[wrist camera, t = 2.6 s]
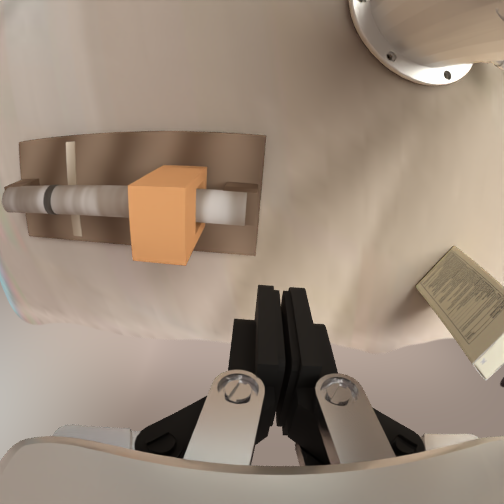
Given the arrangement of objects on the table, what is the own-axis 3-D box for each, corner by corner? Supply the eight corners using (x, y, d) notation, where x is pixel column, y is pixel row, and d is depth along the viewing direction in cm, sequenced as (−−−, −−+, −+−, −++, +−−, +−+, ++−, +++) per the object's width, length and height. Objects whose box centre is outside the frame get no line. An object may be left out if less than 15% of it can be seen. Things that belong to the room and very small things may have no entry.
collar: (207, 166, 23) (185, 187, 17) (205, 225, 25) (185, 265, 19) (163, 165, 23) (127, 185, 17) (163, 222, 25) (132, 260, 19)
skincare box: (432, 306, 30) (483, 384, 19) (413, 285, 29) (468, 367, 18) (472, 266, 27) (536, 333, 16) (456, 241, 26) (528, 308, 15)
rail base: (266, 135, 23) (266, 140, 19) (255, 250, 28) (253, 280, 23) (24, 141, 23) (-10, 150, 19) (34, 232, 28) (5, 252, 23)
